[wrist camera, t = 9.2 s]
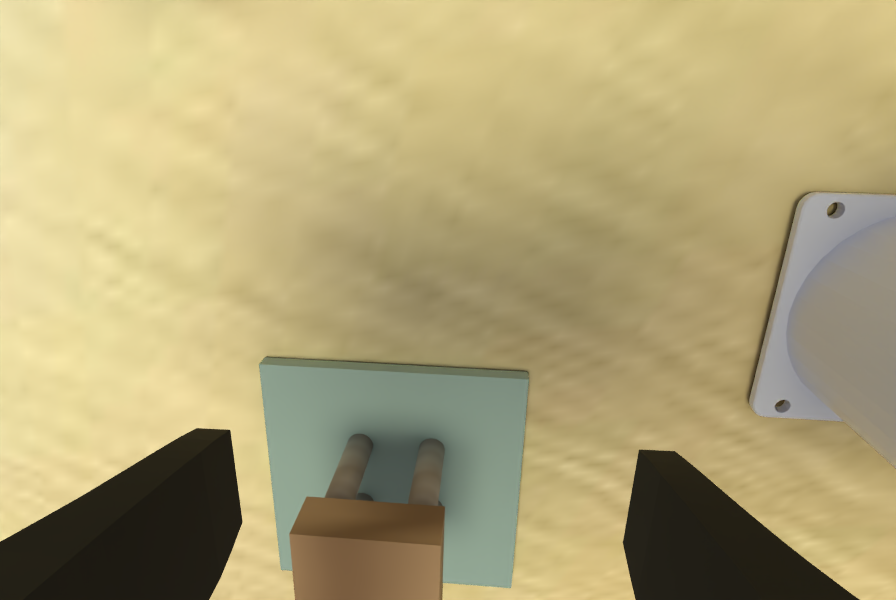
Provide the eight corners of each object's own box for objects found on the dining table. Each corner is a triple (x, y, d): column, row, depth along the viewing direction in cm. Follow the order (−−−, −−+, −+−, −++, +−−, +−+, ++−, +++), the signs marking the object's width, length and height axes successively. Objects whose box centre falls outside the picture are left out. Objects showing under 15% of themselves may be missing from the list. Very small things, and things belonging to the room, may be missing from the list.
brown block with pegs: (453, 432, 21) (440, 545, 16) (449, 525, 22) (437, 655, 17) (339, 425, 21) (289, 534, 16) (343, 517, 23) (299, 643, 17)
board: (527, 371, 20) (528, 379, 20) (510, 576, 24) (510, 588, 23) (265, 357, 21) (259, 364, 20) (285, 559, 24) (280, 569, 24)
